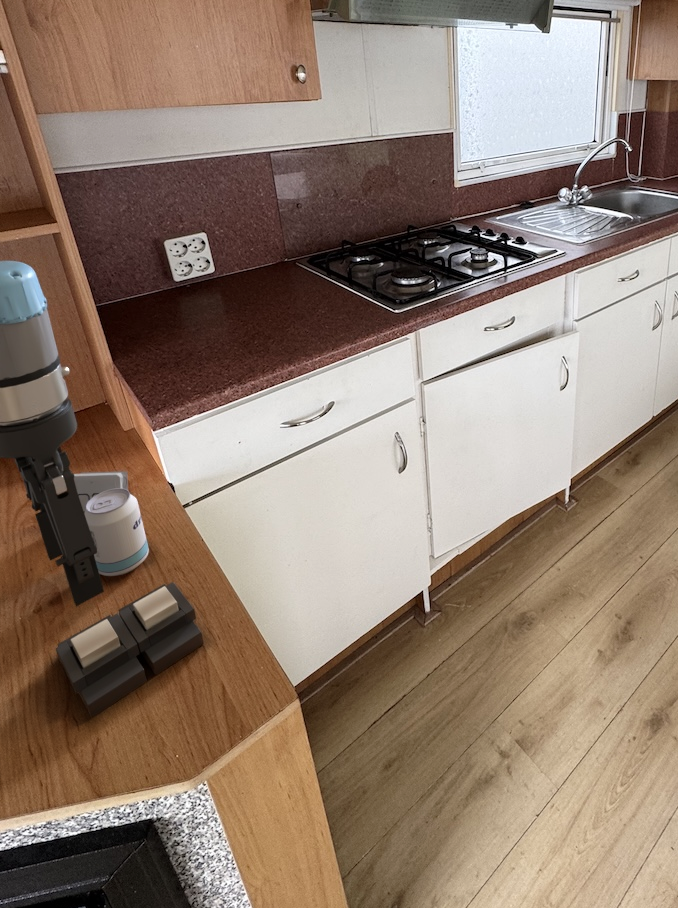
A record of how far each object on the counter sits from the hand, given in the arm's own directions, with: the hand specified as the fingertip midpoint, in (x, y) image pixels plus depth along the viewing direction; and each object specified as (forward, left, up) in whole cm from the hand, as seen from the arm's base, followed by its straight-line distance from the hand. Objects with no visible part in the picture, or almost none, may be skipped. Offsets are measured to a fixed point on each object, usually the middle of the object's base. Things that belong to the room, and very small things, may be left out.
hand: (75, 573), depth 68 cm
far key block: (0, +7, -16) cm, 17 cm away
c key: (0, 0, -12) cm, 12 cm away
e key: (0, +7, -12) cm, 14 cm away
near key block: (0, 0, -16) cm, 16 cm away
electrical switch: (-31, +9, -16) cm, 36 cm away
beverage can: (-17, +8, -16) cm, 25 cm away
